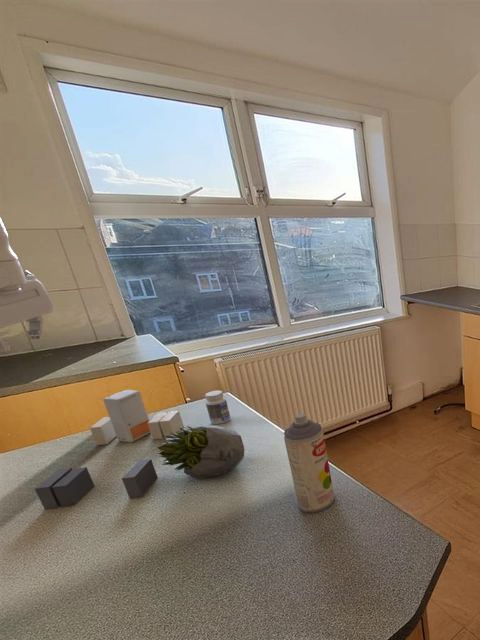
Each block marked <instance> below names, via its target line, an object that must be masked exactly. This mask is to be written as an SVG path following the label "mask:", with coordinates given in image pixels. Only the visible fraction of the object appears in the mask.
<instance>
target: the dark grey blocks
mask: <svg viewBox="0 0 480 640" xmlns="http://www.w3.org/2000/svg"><path fill="white" fill-rule="evenodd" d="M158 477H159V476H158V474H157V471H156V469H155V465H154V462H153V461H152V458H146V459H139V460H138V461H137V462H136V463H135V464H134V465H133V466H132V467H131V468H130V469H129V470H128V471H127V472H126V473H125V474H124V475H123V477H122V478H121V480H122V483H123V485H124V488H125V490H126V493H127V496H128V498H129V499H136V498H137V499H138V498H143V496H144V495H145V494H146V493H147V492H148V491H149V490H150V488H151V487H152V486H153V485H154V483H155V482H156V481H157V480H158V479H159V478H158ZM94 487H95V483H94V481H93V479H92V476H91V474H90V472H89V469H88V467H87V466H84V467H75V468H72V467H64V468H58V469H57V470H55V471H54V472H53V473H52V474H51V475H50V476H48V477H47V478H46V479H44V480H43V481H42V482H41V483H40V484H38V485H37V486H36V487H35V488H34V490H35V491H34V492H35V493H36V494H37V495H36V496H37V497H38V498H39V501H40V502H41V505H42V507H43V509H44V510H52V509H58V508H59V507H61V508H64V507H71V506H75V505H76V504H78V502H80V500H81V499H83V498H84V497H85V496H86V494H88V493H89V492H90V491H91V490H92V489H93V488H94Z"/></svg>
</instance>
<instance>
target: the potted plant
mask: <svg viewBox="0 0 480 640" xmlns="http://www.w3.org/2000/svg"><path fill="white" fill-rule="evenodd" d="M186 427H187V429H184V428H183V429H182V428H180V427H179V428H180V429H181V431H178V432H176V433H177V434H173V433H171V434H173V435H171V436H170V435H168V436H166V437H167V438H163V439H162V440H164V442H160V443H159V445H160V446H157V447H156V448H157V450H159V451H158V453H157V455H158V456H157V457H159V458H164V459H162V460H161V462H162V465H163V466H174V465H178V466H177V467H175V468H174V470H176V471H177V472H178V471H181V470H183V473H184V474H186V475H188V476H190V477H191V478H194V479H201V478H208V477H214V476H219V475H223V474H224V473H226V472H228V471H230V470H232V469H233V468H235V467H237V466H238V465H239V464H241V462H242V460H243V459H244V457H245V446H244V442H243V439H242V436H241V434H240V433H238V431H235V430H232V429H230V428H227V427H224V426H218V425H212V424H210V425H203V426H196V427H191V426H189V425H186Z"/></svg>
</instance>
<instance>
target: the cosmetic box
mask: <svg viewBox="0 0 480 640" xmlns="http://www.w3.org/2000/svg"><path fill="white" fill-rule="evenodd" d="M102 399H103V400H102V401H103V403H104V405H105V409H106V411H107V414H108V417H110V420H111V422H112V425H113V428H114V431H115V433H116V438H117V441H118V442H126V443H133V442H135V441H137V440H139V439H141V438H143V437H145V436H146V435H149V434H151V432H150V430H149V427H148V424H147V423H148V422H149V421H150V419H149V416H148V412H147V409H146V406H145V403H144V400H143V397H142V394H141V391H140V390H133V389H123V390H122V391H119V392H116V393H113V394H112V395H109V396H107V397H104V398H102Z"/></svg>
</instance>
